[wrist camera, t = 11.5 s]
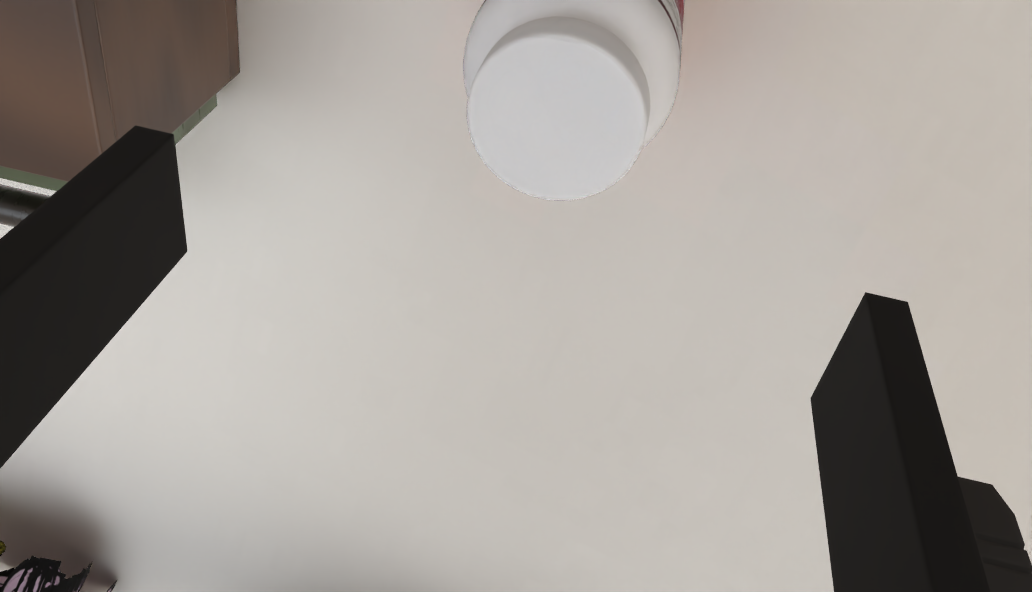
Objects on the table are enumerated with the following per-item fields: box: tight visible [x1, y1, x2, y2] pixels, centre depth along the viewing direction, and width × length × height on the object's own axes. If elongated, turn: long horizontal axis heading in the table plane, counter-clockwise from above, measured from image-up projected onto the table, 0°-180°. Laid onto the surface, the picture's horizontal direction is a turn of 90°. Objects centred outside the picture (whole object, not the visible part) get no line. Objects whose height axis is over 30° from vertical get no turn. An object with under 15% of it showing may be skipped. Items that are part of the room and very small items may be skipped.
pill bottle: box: [463, 0, 684, 201], centre depth 26 cm, size 6×6×11 cm
